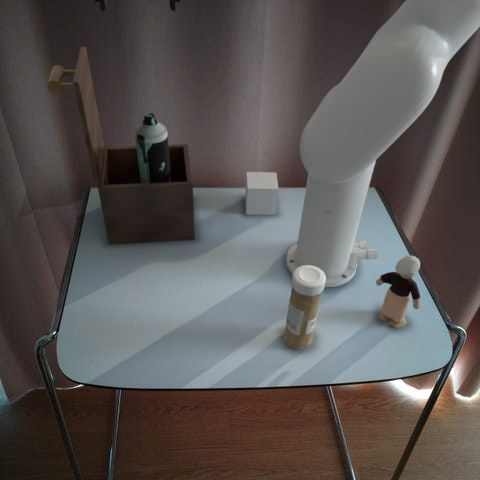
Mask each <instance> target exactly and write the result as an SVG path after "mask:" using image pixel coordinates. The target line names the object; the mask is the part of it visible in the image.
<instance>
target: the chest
mask: <svg viewBox="0 0 480 480" xmlns="http://www.w3.org/2000/svg"><path fill="white" fill-rule="evenodd" d="M168 147H169V160H170V174H171V182H167V183H142V184H141V179H140V171H139V163H138V155H137V147H136V145H127V146H126V145H125V146H122V145H121V146H120V145H119V146H104V148H103V158H102V167H101V177H100V185H97V192H98V196H99V201H100V205H101V206H100V207H101V211H102V215H103V216H102V217H103V220H104V226H105V231H106V236H107V241H108V245H122V244H123V245H124V244H141V243H143V244H144V243H159V242H175V241H176V242H179V241H181V242H182V241H195V239H196V236H195V235H196V233H195V210H194V209H195V208H194V207H195V206H194V184H193V183H194V182H193V176H192V175H193V174H192V167H191V159H190V151H189V145H188V143H187V144H168Z"/></svg>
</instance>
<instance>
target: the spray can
mask: <svg viewBox="0 0 480 480" xmlns="http://www.w3.org/2000/svg"><path fill="white" fill-rule="evenodd" d="M143 117H144V118H143V119H142V121H141V123H139V124H137V125H136V126H135V128H134V138H135V139H134V140H135V146H136V147H137V155H138V163H139V171H140V179H141V184H142V183H167V182H171V174H170V160H169V147H168V145H169V137H168V130H167V129H168V128H167V126H166V125H165V124H163V123H162V122H159V120H158V119H156V117H155V113H152V112H151V113H147V114H144V116H143Z"/></svg>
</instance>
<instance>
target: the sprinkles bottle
mask: <svg viewBox="0 0 480 480" xmlns="http://www.w3.org/2000/svg"><path fill="white" fill-rule="evenodd" d="M325 281H326V276H325V274H324V272H323V271H322V270H321V269H319V268H317V267H315V266H311V265H304V266H300V267H298V268H297V269H295V271H294V272H293V274H292V276H291V291H290V296H289V300H288V307H287V314H286V319H285V330H284V333H283V340H284V343H285V344H286V345H287V346H288V347H289V348H292V349H295V350H304V349H306V348H308V347H309V346H311V344H312V342H313V335H314V331H315V327H316V322H317V319H318V318H317V317H318V312H319V308H320V307H319V306H320V302H321V297H322V292H323V291H324V290H325V287H324V286H325Z"/></svg>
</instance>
